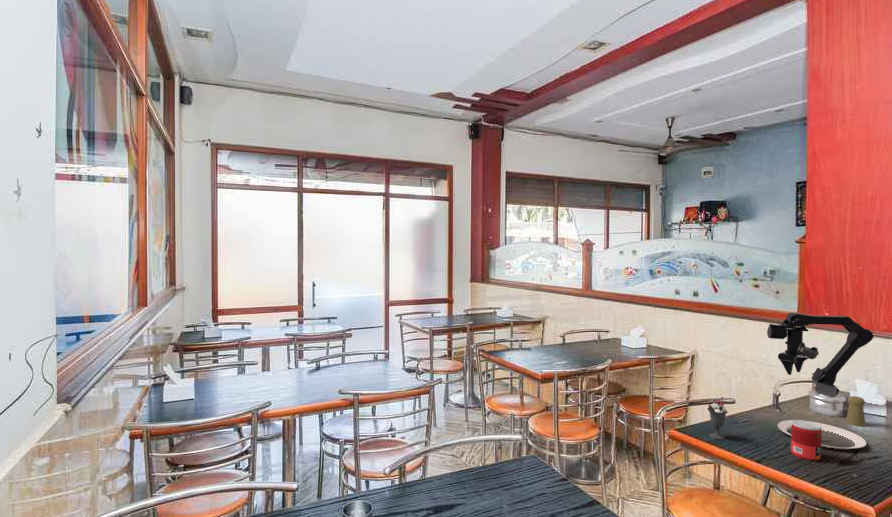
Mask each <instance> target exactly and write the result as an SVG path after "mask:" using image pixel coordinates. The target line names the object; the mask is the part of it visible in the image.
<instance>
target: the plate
mask: <svg viewBox="0 0 892 517" xmlns="http://www.w3.org/2000/svg"><path fill="white" fill-rule="evenodd" d="M793 420H794V419H788V420H782V421H780V422H778V424H777V428H778V429H779V430H780V431H782V432H783V433H785V434H787V435H789V436H790V437H791V433H789V430H791V429H790V428H791V426H792V421H793ZM808 421H809V420H808ZM809 422H811V421H809ZM812 422H813V423H816V424H818V425H820V426H821V429H822V431H823V430H824V431H823V432H827V431H829V432H828V433H831V432H833V433H832V434H834V433H836V434H835V435H837V434H839V435H838V436H840V435H841V436H840V437H842V436H844V437H843V438H845V437H846V438H845V439H847V438H848V439H847V440H849V439H850V440H852V441H853V442H854V443H855V446H854V445H853V446H850V447H849V446H848V447H842V446H840V447H839V446H832V445H827V444H822V443H821V448H825V447H826V448H827V449H831V448H834V449H833V450H852V449H861V448H865V447H866V446H867V442H866V440H865V439H864V438H863V437H861V436H860V435H858V434H856V433H853V432H852V431H850V430H847V429H844V428H841V427H838V426H834V425H831V424H827V423H821V422H816V421H812ZM788 429H789V430H788ZM787 430H788V432H787ZM850 440H849V441H850ZM852 441H851V442H852ZM853 442H852V443H853ZM854 443H853V444H854ZM826 448H825V449H826Z"/></svg>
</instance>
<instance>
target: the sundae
mask: <svg viewBox="0 0 892 517" xmlns="http://www.w3.org/2000/svg"><path fill="white" fill-rule="evenodd" d="M723 398H724V396H721V398H720V399H719V400H716V401H715V402H713V403H711V404H708V405H707V406H708V407H707V411H708V412H709V416H710V417H709V418H710V422H711V425H712V426H713V427H714V428H715V431H714V433H709V437H710V438H712V439H715V440H720V441H721V440H725V439H726V437H725V436H724V435H721V434H720V429H721V428H722V427H724V424H725V420H726V415H727V414H728V413H729V411H728V410H727V409H726V407H725V404H724V402H720V401H722V399H723Z"/></svg>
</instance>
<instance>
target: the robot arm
mask: <svg viewBox="0 0 892 517" xmlns="http://www.w3.org/2000/svg"><path fill="white" fill-rule="evenodd" d="M811 325H827V326H828V325H831V326H832V325H833V326H834V325H835V326H836V325H837V326H841V327H843V328H844V329H845V330H846V331H847V332H848V334H847V338H846V342H845V343H844V344H843V346H842V347H841V348H840V349H839V351H837V353H836V354H835V355H834V356H833V358H832V359H831V360H830V361H829V362H828V364H827V365H826V366H824V367H823V368H820V367H817V368H816V370H814V372H813V373H811V375H812V376H811V381H812V383H813V384H815V385H816V387H817V383H824V384H829V385H833V386H836V385H835V382H836V381H837V374H838V373H839V372H840V371H841V370H842V368H843V367H844V366H845V365H846V363H848V362H849V360H851V358H852V357H853V356H854V354H855V353H856V352H857V351H858V350H859V349H861V348H862V347H865V346H866V345H867V344H869V343H870V342H872V340H873V339H874V334H873V332H872V331H871V330H870V329H868V328H864V327H863V326H862V325H860V324H858V323H857V322H855V320H853V319H852V318H851V317H849V316H846V315H811V314H805V313H799V312H795V311H794V312H792V311H791V312H789V313H788V314H787V315H786V317H785V319H784V320H783V321H782V322H781V323H780V324H774V323H769V324H768V326H767V330H766V334H767V335H766V336H767V338H768V339H772V340H773V339H775V340H785V338H786V341H784V344H786V349H785V350H784V352H780V353H778V354H777V358H778V360H779V361H780V363H781V364H782V365H783V368H784V369H785V371H786V373H787V375H792V373H793V372H792V371H793V368H794V367H795V370H796V372H797V373H800V372H801V370H802V368H803V365H804V363H805V361H807V360H808V359H809V360H815V359H816V358H817V357H818V356H819V352H820V351H819V348H818V347H815V346H812V347H808V346H806V343H805V342H804V341H803V338H804V337H803V336H804V334H803V333H804V332H809V329H808V328H807V327H806V326H811ZM839 393H840V389H839V388H838V387H837V390H836V394H839Z"/></svg>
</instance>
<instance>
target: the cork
mask: <svg viewBox="0 0 892 517" xmlns="http://www.w3.org/2000/svg"><path fill="white" fill-rule="evenodd" d="M847 403H848V404H849V405H848V410H847V414H846V419H845V423H846V424H847V425H851V426H853V425H854V427H859V426H860V427H861V428H865V427H867V425H866V419H865V411H864V406H865V404H866V402H865V399H864V398H863V397H860V396H856V395H850V396H848V397H847ZM864 426H865V427H864ZM860 427H859V428H860Z"/></svg>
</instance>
